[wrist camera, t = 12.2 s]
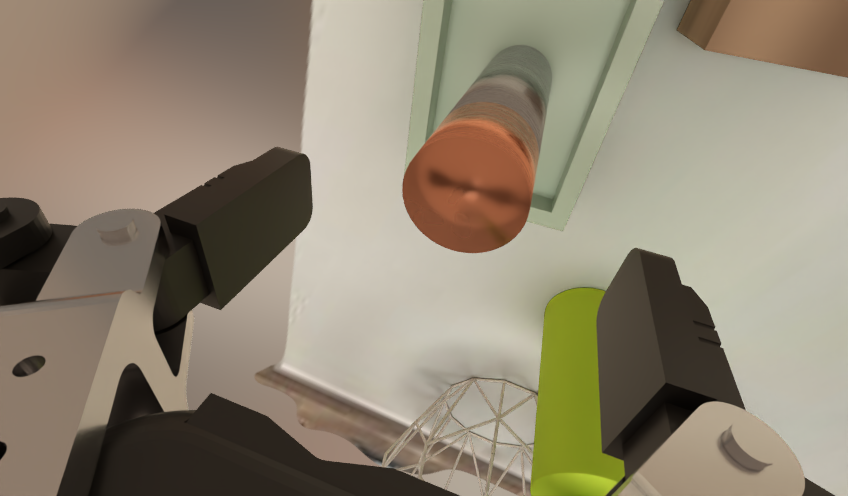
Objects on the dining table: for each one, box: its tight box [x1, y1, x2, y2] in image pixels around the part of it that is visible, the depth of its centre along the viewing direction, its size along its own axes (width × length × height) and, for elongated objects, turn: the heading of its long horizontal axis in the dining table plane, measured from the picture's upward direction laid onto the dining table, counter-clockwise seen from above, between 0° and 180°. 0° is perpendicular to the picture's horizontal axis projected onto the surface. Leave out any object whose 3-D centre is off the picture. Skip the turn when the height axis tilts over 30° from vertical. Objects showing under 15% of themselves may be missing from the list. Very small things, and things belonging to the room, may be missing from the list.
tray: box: [404, 0, 664, 231], centre depth 20 cm, size 10×14×2 cm
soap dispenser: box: [530, 288, 625, 496], centre depth 21 cm, size 6×7×20 cm
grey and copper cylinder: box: [402, 45, 552, 253], centre depth 16 cm, size 4×4×13 cm
